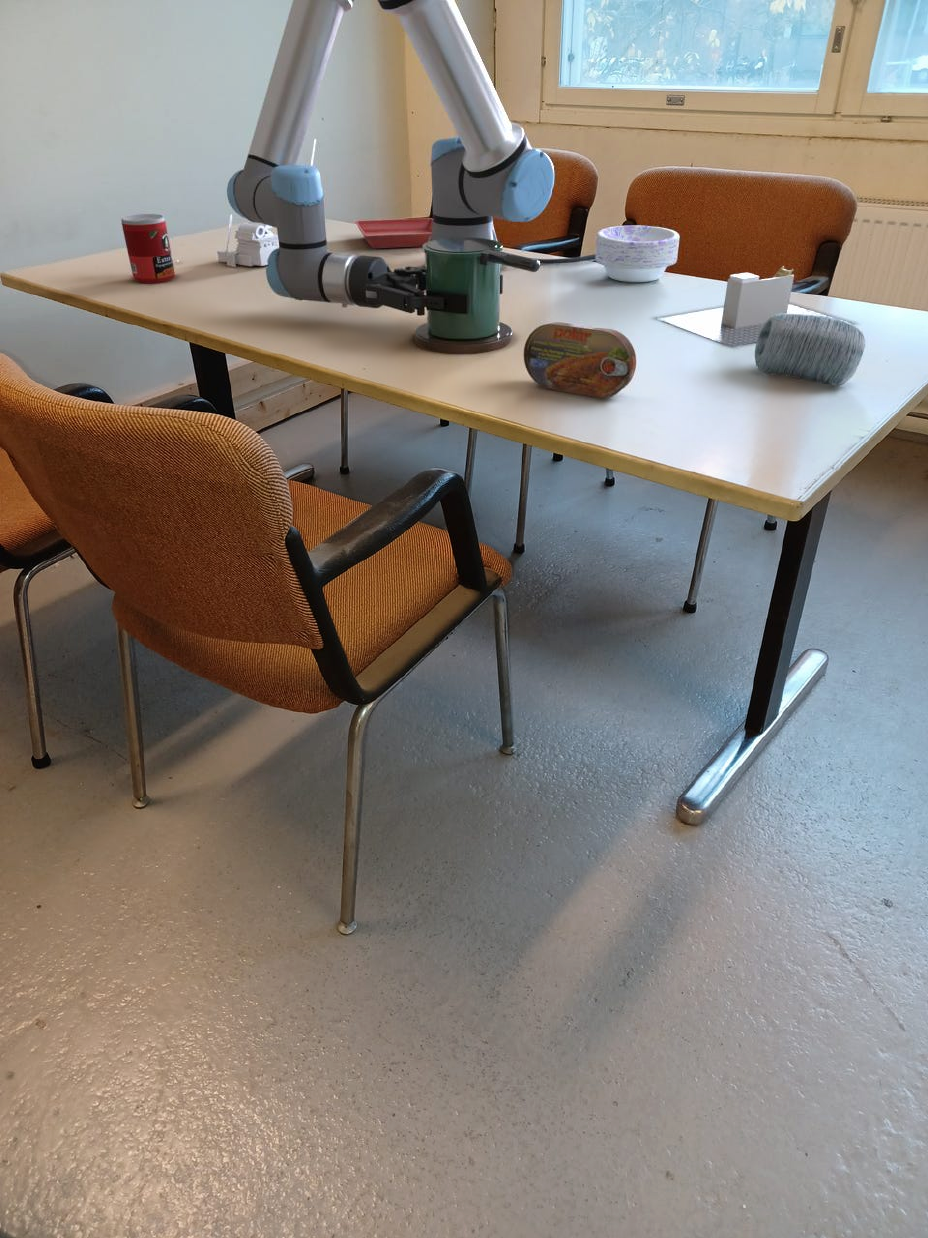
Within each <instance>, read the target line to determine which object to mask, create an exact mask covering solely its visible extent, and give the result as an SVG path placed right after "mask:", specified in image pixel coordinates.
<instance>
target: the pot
mask: <svg viewBox="0 0 928 1238" xmlns="http://www.w3.org/2000/svg"><path fill="white" fill-rule="evenodd" d="M422 252H423V253H424V265H425V266H424V268H425V272H426V290H428V289H429V290H438V291H448V292H458V293H467V294H469V314H459V313H450V312H441V311H432V310H426V323H427V330H428V332H429V333H430V334H432V335H435V336H438V337H442V338H448V339H476V338H483V337H487V336H491V335H493V334H495V333H497V332H498V331H499V322H500V314H501V313H500V311H501V309H500V307H501V306H500V304H501V302H500V301H501V294H500V275H501V268H500V264H502V265H503V266H507V267H511V268H514V269H517V270H518V269H519V270H523V271H527V272H530V273H537V272H538V271H539V270H540V268H541V264H540V263H539V261H538V260H536V259H537V258H534V259H531V258H532V257H526V256H522V255H518V254H513V253H509V252H505V251H503V244H502V242H500V241H498V240H497V241H495V240H490V239H484V238H468V237H461V238H445V239H438V240H433V241H430V242H427V243H425V244H424V245H423V246H422ZM426 290H425V291H426Z"/></svg>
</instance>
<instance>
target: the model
mask: <svg viewBox="0 0 928 1238" xmlns="http://www.w3.org/2000/svg"><path fill="white" fill-rule="evenodd" d="M794 271H795V270H794V268H791V269H790V270H789V269H786V268H785V266H784V265H782V266H781V267H780V268H779V269H778V271H777V272H776V273H775V274H774V275H773V276H772V277H769V278H764V279H760V275H756V274H753V273H750V272H740V273H734V274H730V275H729V278H727V282H726V290H725V296H724V303H723V307H722V308H723V309H722V316H721V322H720V323H721V324H724V325H726V326H729V327H732V328H735V329H736V328H741V327H747V326H752V325H758V324H764V323H766V321H767V320H768V319H769V318H770V317H771V316H773V315H775V314H779V313H784V314H788V311H789V305H791V304H790V299H791V293H792V289H793V283H794V278H795V275H794V274H792V272H794Z"/></svg>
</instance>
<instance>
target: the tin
mask: <svg viewBox="0 0 928 1238" xmlns="http://www.w3.org/2000/svg"><path fill="white" fill-rule="evenodd" d="M523 363H524V366H525V369H526V371H527V373H528V375H529V377H530V378H531V379H532V380H533V382H535V383H536V384H537V385H539V386H540V387H542V388H544V389H547V390H550V391H557V392H564V393H570V394H575V395H580V396H584V397H585V396H586V397H591V398H597V399H607V398H611V397H613V396H616V395H617V394H618V393H620V392H621V391H622V390H623V389H625V388H626V387H627V386H628V385H629V384H630V383H631V381H632V380H633V378H634V375H635V373H636V368H637V355H636V350H635V347H634V346H633V344H632V343H631V341H630V340H629V338H628V337H627V336H626V335H624V334H623V333H622V332H620V331H618V330H616V329H613V328H607V327H597V326H590V325H583V324H578V323H577V324H575V323H569V322H562V321H554V322H550V323H549V322H548V323H545V324H542V325H539V326H538V327H536V328H535V329H533V331H531V332H530V334H529V335H528V337H527V339H526V340H525V344H524V348H523Z"/></svg>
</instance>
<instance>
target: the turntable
mask: <svg viewBox="0 0 928 1238" xmlns="http://www.w3.org/2000/svg"><path fill="white" fill-rule="evenodd" d="M512 341H513V329H512V327H511V326H510V325H508V324H506V323H504V322H501V321H499V331H498V332H497V333H495V334H493V335H491V336H487V337H483V338H476V339H448V338H442V337H438V336H435V335H432V334H430V333H429V332H428V330H427V322H425V323H423V324H420V325H419V326H418V327H416V328H415V329H414V342H415V344H416V345H417V346H419V347H421V348H423V349H425V350H428V351H433V352H437V353H442V354H456V355H457V354H458V355H460V354H463V355H465V354H480V353H486V352H493V351H497V350H499V349H503V348H505V347H507V346H508V345H509V344H511V343H512Z"/></svg>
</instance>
